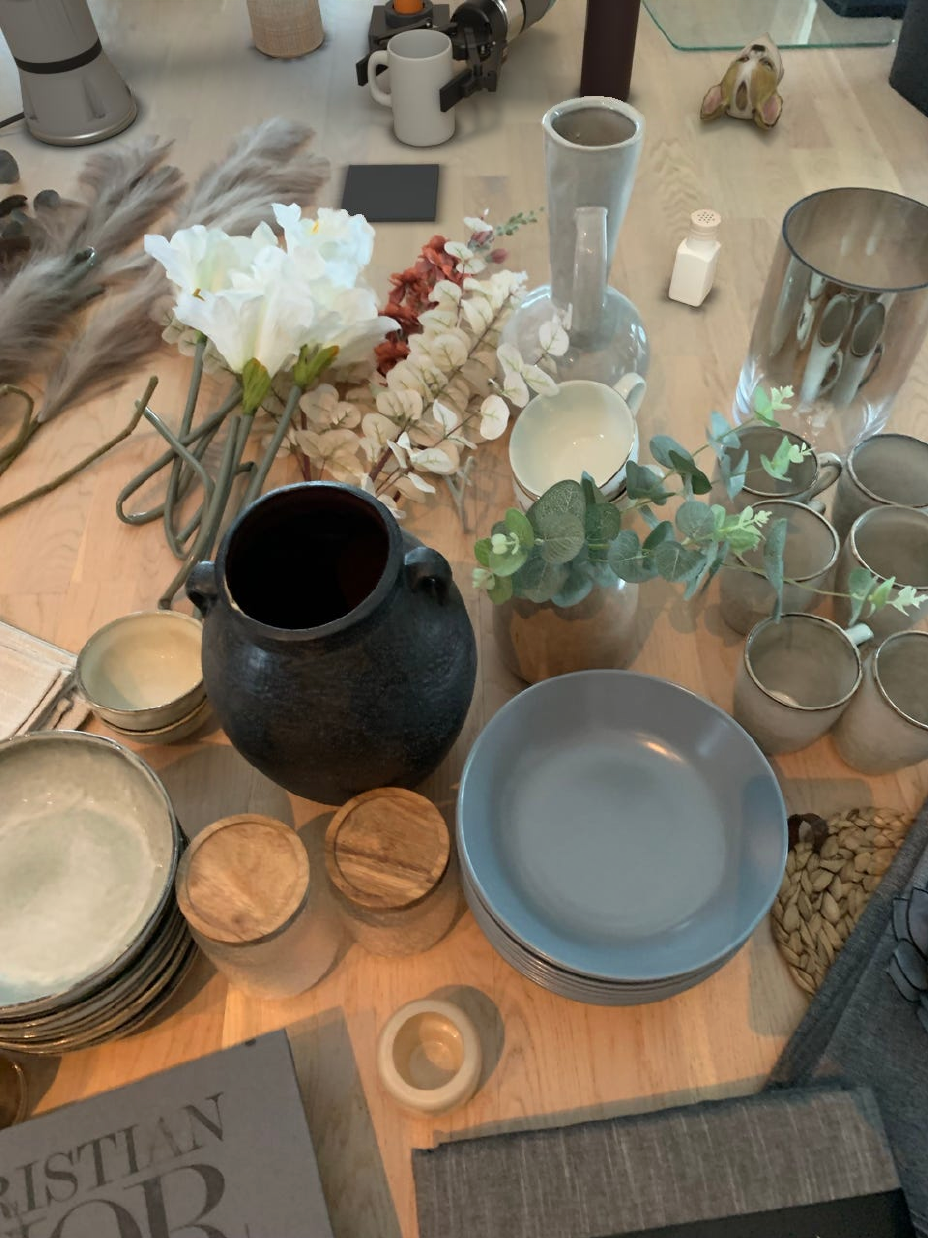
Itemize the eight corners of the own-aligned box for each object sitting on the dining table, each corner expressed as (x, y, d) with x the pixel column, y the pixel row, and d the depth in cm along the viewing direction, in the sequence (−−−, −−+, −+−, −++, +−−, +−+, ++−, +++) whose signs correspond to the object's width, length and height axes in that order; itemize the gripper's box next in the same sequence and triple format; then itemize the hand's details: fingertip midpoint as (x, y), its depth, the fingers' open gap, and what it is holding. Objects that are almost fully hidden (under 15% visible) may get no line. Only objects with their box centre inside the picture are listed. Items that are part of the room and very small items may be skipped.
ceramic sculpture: (810, 23, 115) (786, 84, 108) (792, 90, 122) (769, 150, 116) (731, 13, 117) (703, 71, 111) (718, 79, 125) (691, 137, 118)
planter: (261, 27, 138) (247, -44, 130) (328, 26, 138) (318, -45, 130) (249, 60, 132) (234, -12, 124) (319, 59, 132) (308, -13, 124)
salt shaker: (665, 299, 98) (680, 221, 90) (679, 280, 100) (695, 202, 92) (698, 309, 97) (716, 232, 89) (712, 290, 99) (731, 212, 91)
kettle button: (393, 15, 130) (392, -1, 129) (395, 2, 133) (394, -14, 131) (422, 14, 130) (421, -1, 128) (423, 1, 133) (422, -14, 131)
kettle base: (370, 54, 132) (366, 21, 129) (375, 24, 138) (372, -9, 134) (447, 52, 132) (446, 19, 128) (450, 22, 137) (448, -10, 134)
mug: (463, 119, 121) (461, 32, 112) (443, 151, 117) (438, 63, 108) (385, 107, 124) (376, 21, 114) (362, 137, 119) (351, 50, 110)
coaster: (339, 221, 108) (339, 217, 108) (349, 169, 115) (348, 164, 114) (434, 220, 108) (434, 216, 108) (438, 168, 115) (438, 163, 114)
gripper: (559, 73, 122) (479, 142, 113) (416, 32, 130) (330, 93, 121) (563, 13, 116) (478, 81, 107) (412, -26, 124) (321, 34, 115)
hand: (399, 88), depth 114 cm, fingers open, 13 cm apart
